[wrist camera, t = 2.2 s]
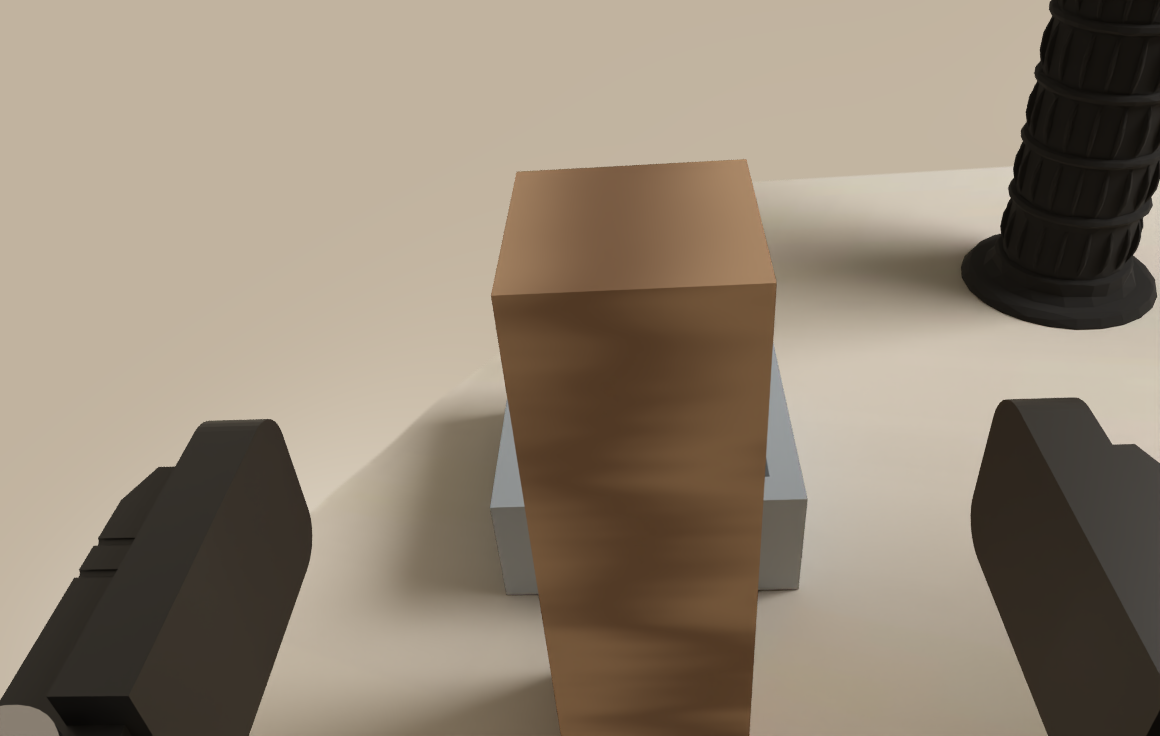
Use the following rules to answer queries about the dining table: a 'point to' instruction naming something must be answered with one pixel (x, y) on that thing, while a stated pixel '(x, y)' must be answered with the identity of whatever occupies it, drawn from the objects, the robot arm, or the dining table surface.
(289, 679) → the dining table surface
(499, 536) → the box
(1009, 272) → the handle grip
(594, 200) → the walnut handle block
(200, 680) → the robot arm
